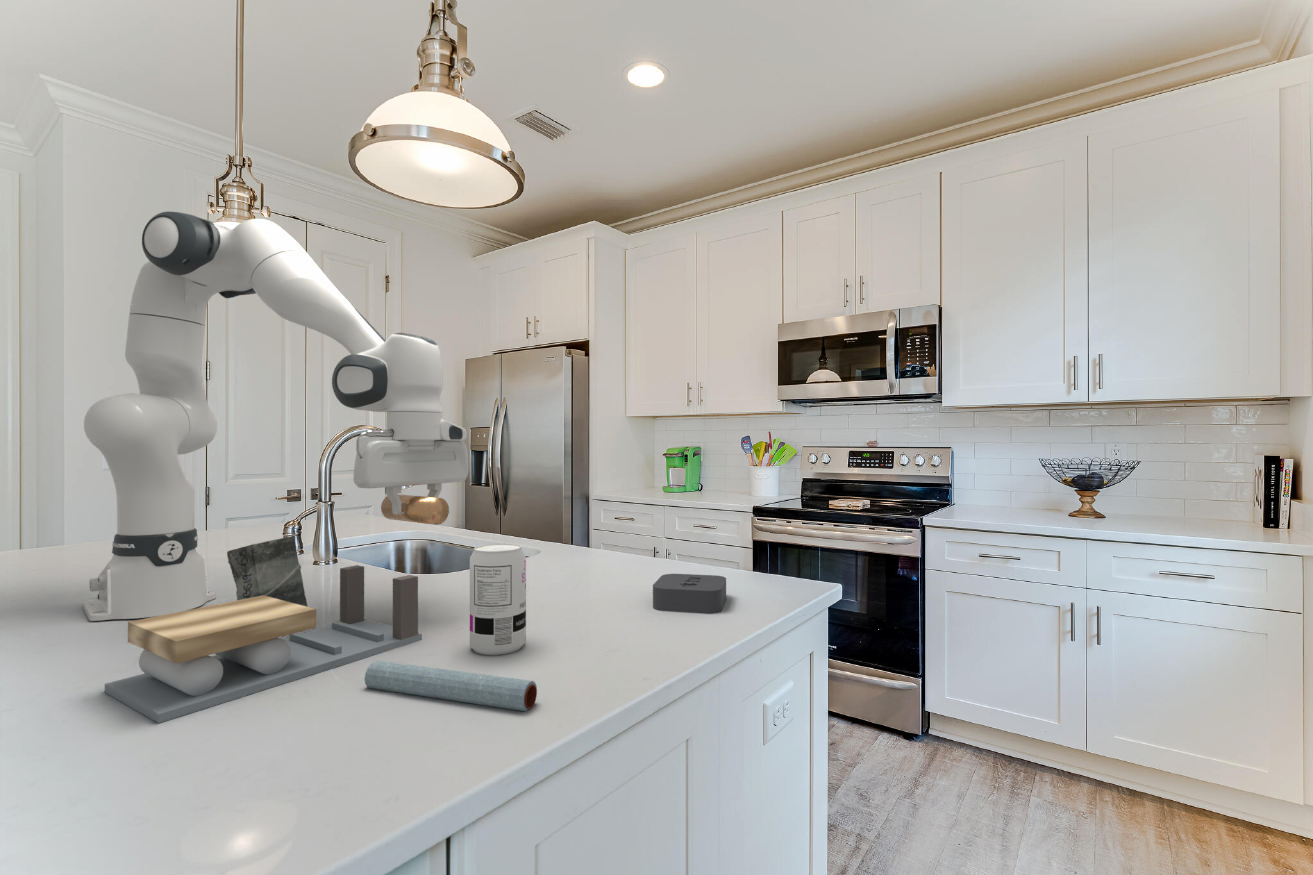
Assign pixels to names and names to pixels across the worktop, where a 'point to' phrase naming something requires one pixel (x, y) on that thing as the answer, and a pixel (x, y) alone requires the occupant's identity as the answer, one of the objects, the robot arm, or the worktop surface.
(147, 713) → the roller bed
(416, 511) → the copper roller
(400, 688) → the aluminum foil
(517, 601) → the supplement can
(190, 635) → the oak slab
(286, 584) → the stone block
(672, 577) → the streaming box
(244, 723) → the worktop surface
